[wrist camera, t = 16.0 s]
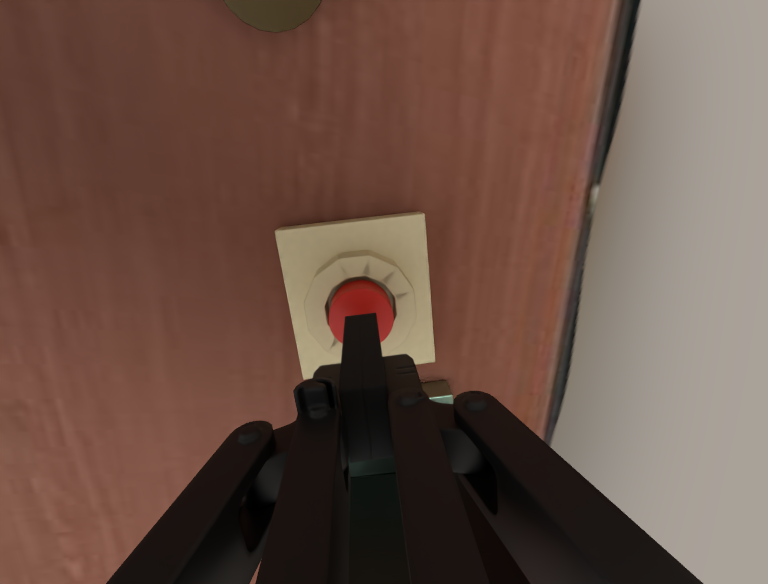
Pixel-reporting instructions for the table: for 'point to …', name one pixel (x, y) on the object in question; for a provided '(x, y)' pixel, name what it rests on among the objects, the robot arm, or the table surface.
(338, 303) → the red push button
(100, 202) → the table surface
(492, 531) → the black panel
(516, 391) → the table surface
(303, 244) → the button box
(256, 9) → the olive pawn
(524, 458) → the robot arm
